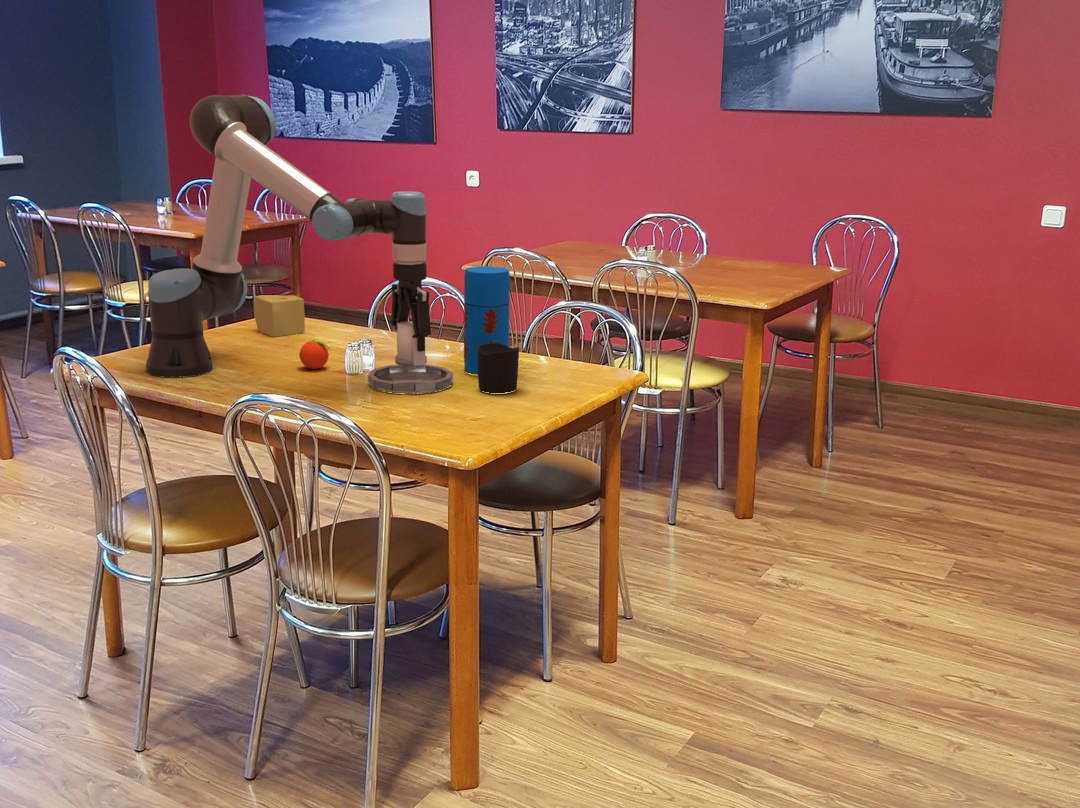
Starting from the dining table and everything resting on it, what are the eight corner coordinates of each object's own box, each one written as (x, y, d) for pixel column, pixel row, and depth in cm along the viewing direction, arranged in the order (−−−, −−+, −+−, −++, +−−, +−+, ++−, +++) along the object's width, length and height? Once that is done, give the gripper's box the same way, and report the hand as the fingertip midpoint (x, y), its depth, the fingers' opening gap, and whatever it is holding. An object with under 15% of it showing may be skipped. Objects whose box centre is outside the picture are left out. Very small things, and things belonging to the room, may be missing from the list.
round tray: (416, 399, 242) (416, 388, 242) (352, 385, 252) (351, 375, 252) (468, 382, 258) (468, 372, 257) (405, 369, 268) (405, 360, 267)
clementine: (337, 367, 269) (337, 338, 267) (325, 373, 262) (324, 344, 260) (308, 364, 271) (307, 336, 269) (294, 370, 264) (293, 341, 262)
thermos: (468, 378, 261) (469, 273, 254) (459, 367, 271) (460, 266, 264) (513, 376, 264) (514, 272, 257) (502, 365, 274) (504, 265, 267)
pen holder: (515, 384, 257) (516, 342, 254) (520, 395, 248) (521, 352, 245) (475, 385, 255) (475, 343, 252) (479, 396, 246) (479, 352, 244)
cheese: (288, 327, 313) (287, 292, 310) (307, 333, 305) (305, 298, 302) (254, 331, 306) (252, 295, 303) (272, 338, 298) (270, 301, 295)
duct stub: (432, 363, 253) (432, 324, 250) (404, 367, 249) (403, 327, 246) (417, 357, 258) (416, 319, 256) (389, 360, 254) (389, 322, 252)
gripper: (446, 266, 241) (447, 368, 248) (403, 255, 257) (405, 350, 263) (416, 269, 237) (417, 372, 243) (374, 257, 253) (376, 354, 259)
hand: (411, 361), depth 253 cm, fingers closed on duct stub, 7 cm apart
